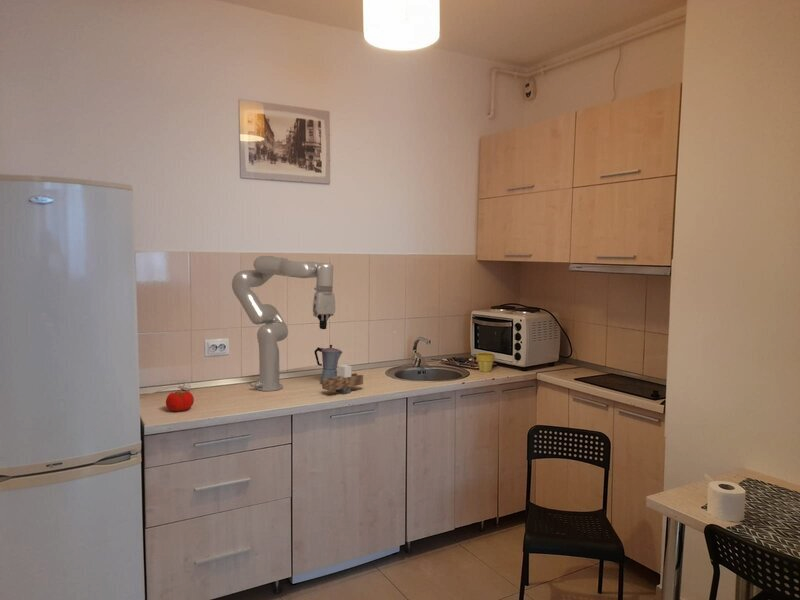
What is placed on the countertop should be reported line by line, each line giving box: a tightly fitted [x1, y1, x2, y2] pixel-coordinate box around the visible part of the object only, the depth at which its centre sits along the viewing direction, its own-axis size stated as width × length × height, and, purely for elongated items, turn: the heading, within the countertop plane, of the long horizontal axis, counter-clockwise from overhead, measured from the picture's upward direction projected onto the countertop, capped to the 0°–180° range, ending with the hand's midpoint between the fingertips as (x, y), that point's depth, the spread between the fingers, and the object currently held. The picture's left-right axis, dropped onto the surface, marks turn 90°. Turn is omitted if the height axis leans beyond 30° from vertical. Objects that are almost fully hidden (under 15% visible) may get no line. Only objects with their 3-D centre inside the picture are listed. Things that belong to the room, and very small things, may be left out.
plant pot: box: [476, 352, 496, 373], centre depth 313 cm, size 10×10×10 cm
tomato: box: [165, 390, 195, 413], centre depth 229 cm, size 11×11×8 cm
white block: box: [337, 364, 352, 379], centre depth 261 cm, size 4×5×7 cm
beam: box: [321, 372, 364, 395], centre depth 260 cm, size 20×6×7 cm, turn 134°
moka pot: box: [314, 344, 343, 384], centre depth 278 cm, size 10×15×20 cm, turn 78°
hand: (322, 328), depth 255 cm, fingers closed
